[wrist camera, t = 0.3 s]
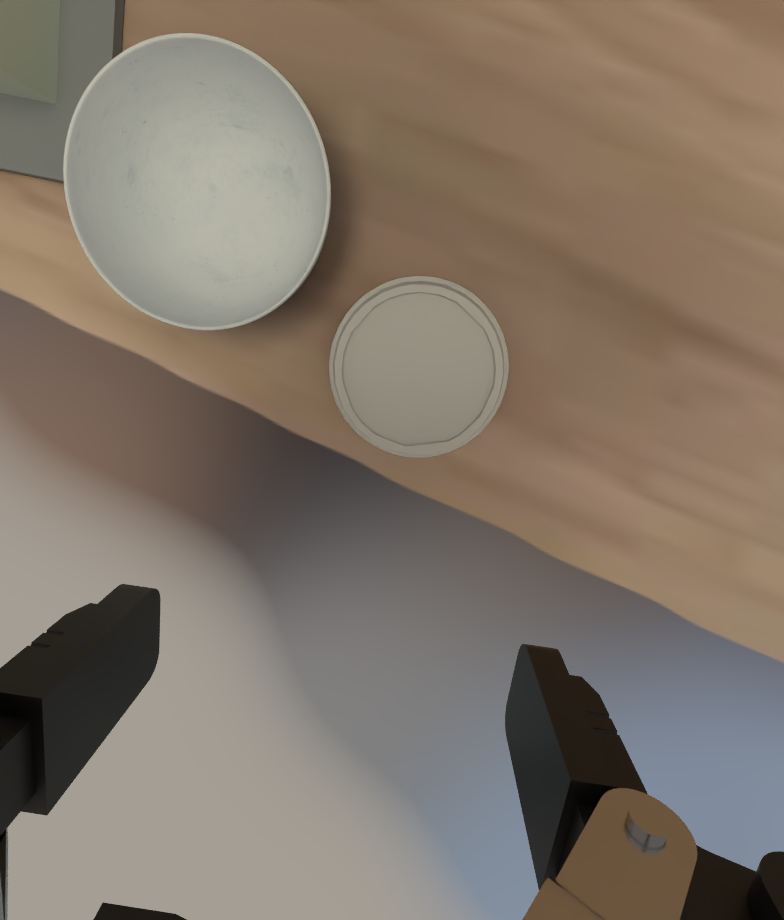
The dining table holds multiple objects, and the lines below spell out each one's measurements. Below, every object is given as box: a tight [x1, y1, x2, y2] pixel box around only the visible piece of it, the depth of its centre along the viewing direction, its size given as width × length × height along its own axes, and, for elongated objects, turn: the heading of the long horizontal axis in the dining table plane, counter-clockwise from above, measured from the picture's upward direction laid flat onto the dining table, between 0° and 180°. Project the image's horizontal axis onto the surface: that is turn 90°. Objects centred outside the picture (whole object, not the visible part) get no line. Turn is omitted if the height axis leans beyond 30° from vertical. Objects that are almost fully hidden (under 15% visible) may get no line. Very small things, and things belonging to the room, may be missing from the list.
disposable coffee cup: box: [329, 276, 509, 458], centre depth 32 cm, size 10×10×12 cm
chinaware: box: [63, 33, 331, 330], centre depth 33 cm, size 15×15×8 cm
